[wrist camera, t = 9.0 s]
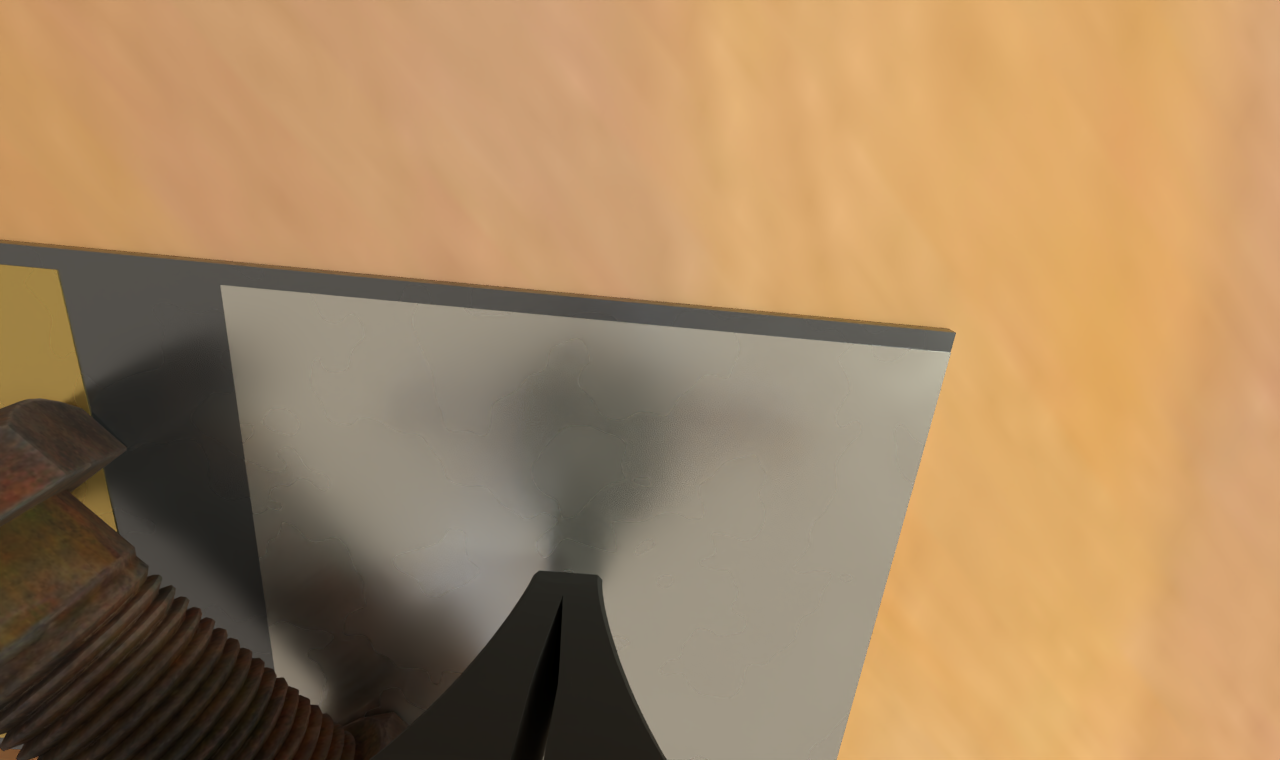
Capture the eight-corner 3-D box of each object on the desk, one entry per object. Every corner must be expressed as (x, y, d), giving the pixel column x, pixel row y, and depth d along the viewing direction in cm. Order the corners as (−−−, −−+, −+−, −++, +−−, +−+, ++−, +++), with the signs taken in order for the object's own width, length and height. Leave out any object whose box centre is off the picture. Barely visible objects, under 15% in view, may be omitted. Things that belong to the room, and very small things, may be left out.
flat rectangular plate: (820, 793, 16) (823, 805, 16) (-259, 718, 15) (-277, 729, 15) (948, 328, 12) (956, 333, 12) (-547, 188, 11) (-580, 189, 11)
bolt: (478, 791, 18) (50, 421, 14) (591, 822, 15) (83, 353, 10) (332, 1057, 14) (-360, 655, 9) (444, 1178, 11) (-514, 660, 6)
